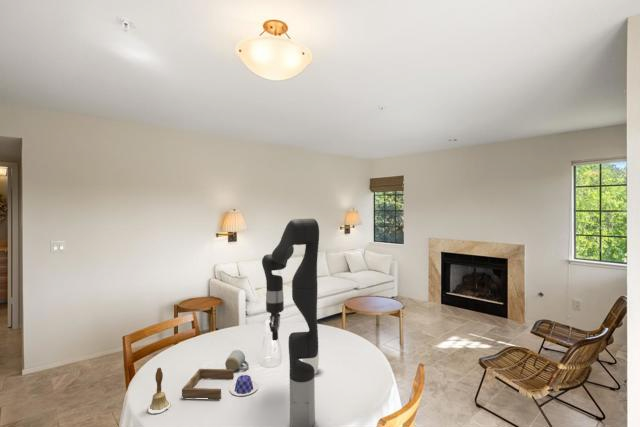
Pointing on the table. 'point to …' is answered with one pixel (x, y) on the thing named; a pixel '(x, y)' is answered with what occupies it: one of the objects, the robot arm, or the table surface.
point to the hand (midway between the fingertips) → (275, 339)
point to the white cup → (313, 362)
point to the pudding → (243, 386)
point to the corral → (205, 392)
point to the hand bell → (159, 394)
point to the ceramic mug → (236, 361)
